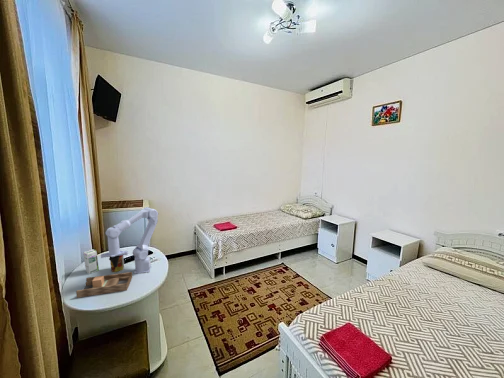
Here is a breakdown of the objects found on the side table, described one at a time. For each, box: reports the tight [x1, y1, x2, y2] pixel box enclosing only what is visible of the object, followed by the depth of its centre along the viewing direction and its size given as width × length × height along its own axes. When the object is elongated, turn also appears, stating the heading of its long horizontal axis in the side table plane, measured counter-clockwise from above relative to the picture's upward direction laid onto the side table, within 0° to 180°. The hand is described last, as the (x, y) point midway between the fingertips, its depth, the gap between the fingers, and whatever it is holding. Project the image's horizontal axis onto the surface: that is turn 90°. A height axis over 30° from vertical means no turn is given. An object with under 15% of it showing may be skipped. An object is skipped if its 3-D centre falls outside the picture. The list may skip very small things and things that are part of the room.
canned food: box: [109, 255, 125, 273], centre depth 151 cm, size 8×8×12 cm
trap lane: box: [75, 271, 133, 299], centre depth 131 cm, size 25×14×4 cm, turn 107°
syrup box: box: [83, 249, 100, 275], centre depth 148 cm, size 6×6×14 cm
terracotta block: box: [92, 275, 104, 288], centre depth 130 cm, size 4×4×4 cm
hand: (115, 266), depth 137 cm, fingers closed
